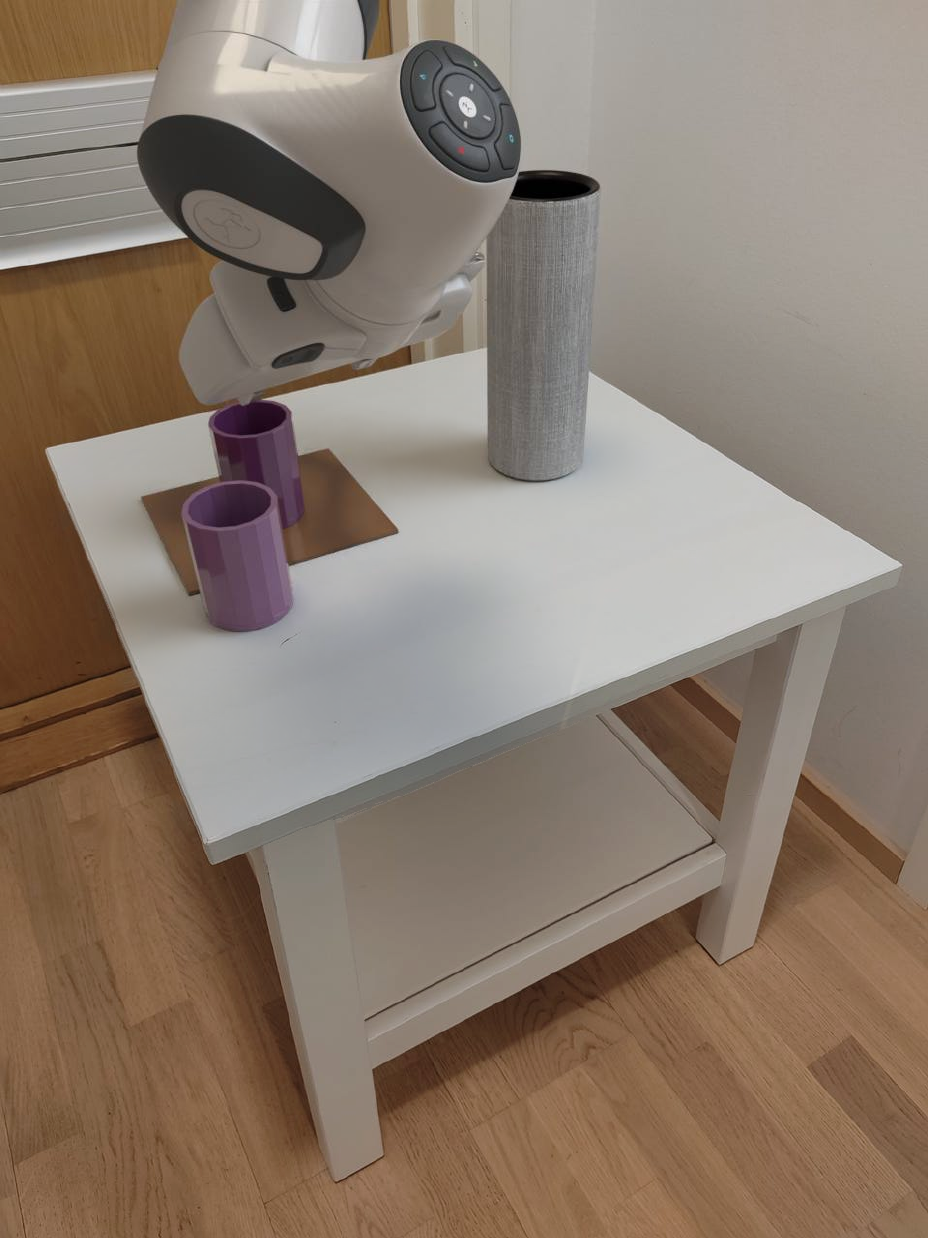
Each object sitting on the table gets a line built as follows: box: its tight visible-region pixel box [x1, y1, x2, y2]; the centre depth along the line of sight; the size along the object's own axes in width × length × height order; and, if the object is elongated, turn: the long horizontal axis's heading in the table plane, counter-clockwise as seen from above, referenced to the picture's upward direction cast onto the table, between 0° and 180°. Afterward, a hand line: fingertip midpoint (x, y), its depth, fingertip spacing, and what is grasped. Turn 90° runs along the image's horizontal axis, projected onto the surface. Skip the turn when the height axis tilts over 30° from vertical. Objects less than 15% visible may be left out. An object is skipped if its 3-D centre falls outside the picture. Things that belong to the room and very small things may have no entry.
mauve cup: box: [181, 480, 294, 632], centre depth 78 cm, size 7×7×10 cm
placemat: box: [140, 447, 399, 596], centre depth 92 cm, size 20×18×1 cm
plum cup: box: [207, 399, 305, 529], centre depth 89 cm, size 7×7×10 cm
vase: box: [485, 169, 602, 482], centre depth 92 cm, size 10×10×27 cm
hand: (303, 376), depth 71 cm, fingers open, 8 cm apart
